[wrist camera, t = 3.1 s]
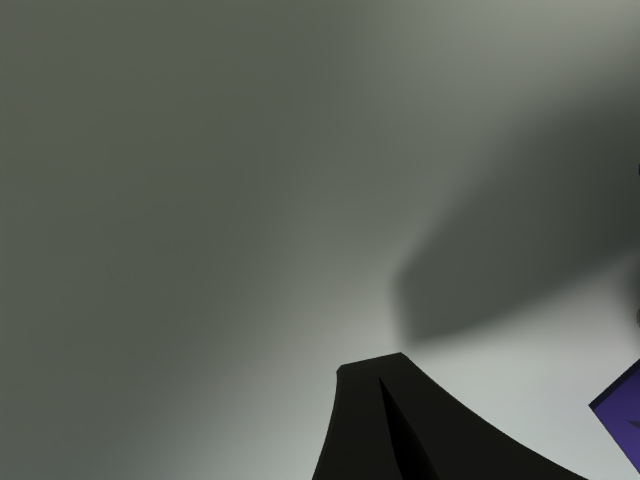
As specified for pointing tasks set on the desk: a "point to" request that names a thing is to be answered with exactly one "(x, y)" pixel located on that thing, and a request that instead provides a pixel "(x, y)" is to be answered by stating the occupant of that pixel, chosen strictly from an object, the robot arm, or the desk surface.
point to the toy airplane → (622, 410)
